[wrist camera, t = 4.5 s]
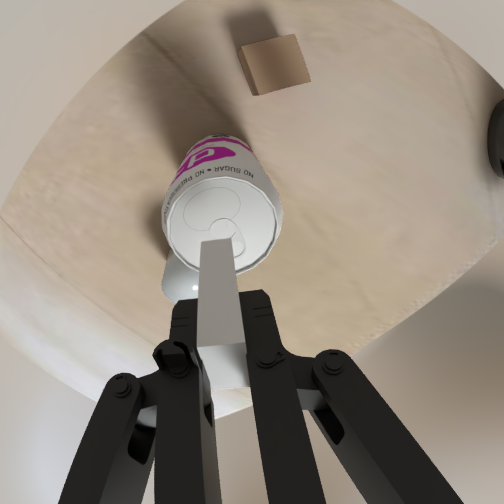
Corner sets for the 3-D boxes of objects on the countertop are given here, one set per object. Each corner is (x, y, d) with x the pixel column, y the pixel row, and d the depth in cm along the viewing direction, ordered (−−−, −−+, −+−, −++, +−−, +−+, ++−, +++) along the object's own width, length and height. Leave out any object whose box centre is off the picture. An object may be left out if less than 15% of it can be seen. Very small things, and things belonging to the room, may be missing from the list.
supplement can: (169, 155, 28) (132, 207, 16) (238, 121, 27) (257, 142, 15) (203, 214, 33) (197, 299, 20) (268, 184, 32) (304, 253, 19)
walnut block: (282, 42, 23) (294, 33, 19) (296, 83, 26) (311, 81, 22) (237, 54, 24) (241, 46, 19) (252, 95, 26) (259, 95, 22)
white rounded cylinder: (211, 234, 34) (210, 261, 29) (217, 274, 37) (218, 304, 32) (163, 240, 34) (155, 268, 29) (173, 279, 37) (168, 309, 32)
